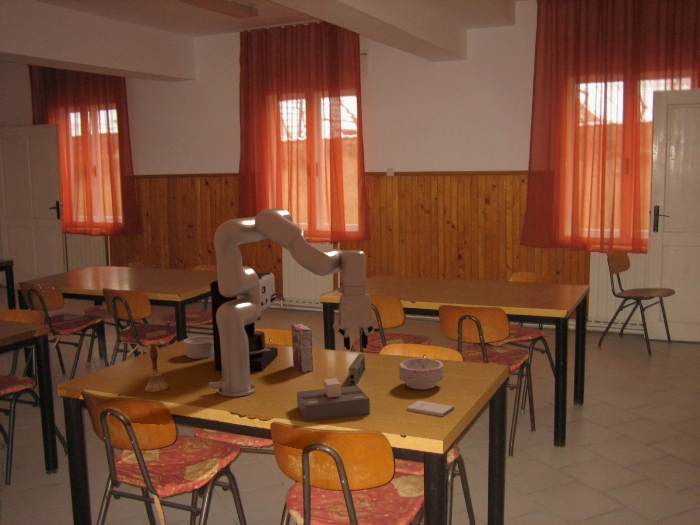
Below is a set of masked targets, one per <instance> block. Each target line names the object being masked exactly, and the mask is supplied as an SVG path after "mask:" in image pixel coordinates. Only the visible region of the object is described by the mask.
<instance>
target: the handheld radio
mask: <svg viewBox="0 0 700 525" xmlns="http://www.w3.org/2000/svg"><path fill="white" fill-rule="evenodd" d="M365 357H366V356H365V353H359V354H358V355H356V356H355V359H354V360H353V361H352V363H351V364H350V366H349V367H348V375H349V384H348V386H357V385H358V383H359V381H360V379H361V378H362V377H363V375H364V373H365V372H366V358H365ZM364 371H365V372H364ZM356 384H357V385H356Z"/></svg>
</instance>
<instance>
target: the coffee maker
mask: <svg viewBox="0 0 700 525" xmlns="http://www.w3.org/2000/svg"><path fill="white" fill-rule="evenodd" d="M256 274H257V276H258V279H259V285H260V302H261V312H260V314H261V313H262V312H264V311H265V310H267V309H268V308H269V307H271V306H273V305H274V304H275V303H276V296H277V295H276V280H275V277H276V276H275V275H274V274H273V273H272V272H256ZM209 287H210V300H211V301H210V302H211V317H212V318H211V320H212V323H211V324H212V337H213V341H214V354H213V358H214V371H215V372H222V364H221V347H220V335H219V329H218V325H217V321H216V313H217V310H218V308H219V307H220V306H221V305H222V304H224V303H226V302H229V301H232V300H236V299H237V296H235V297H225V296H223V295H222V294H221V293H220V291H219V287H218V279H215V281H212V282H211V283H210V284H209ZM260 320H261V315H260V316H259V318H258V319H257V320H256V321H260ZM256 321H255V322H256ZM255 322H253V323H251V324H248V325H245V326H244V329H245V332H246V334H247V336H248V343H249V363H250V371H253V373H254V371H262V372H263V371H264V370H265V369H266V368H267V367H268V366H269V365H270V364H271V363H273V361H274V360H275V359H276V358H277V357H278V356H279V352H278V351H279V350H278V349H279V348H277V347H266V343H267V342H266V335H265V331H263V330H264V329H263V330H257V329H256V328H255ZM255 329H256V330H255Z"/></svg>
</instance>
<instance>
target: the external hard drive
mask: <svg viewBox="0 0 700 525" xmlns="http://www.w3.org/2000/svg"><path fill="white" fill-rule="evenodd" d="M453 409H454V410H455V406H454V405H450V404H442V403H436V402H431V401H430V402H429V401H425V400H417V401H414V402H413V403H412V404H410V405H408V406H407V407H406V411H409V412H415V413H420V414H426V415H430V414H431V415H432V416H436V415H437V416H436V417H441V416H443V417H445V416H446V415H448V414H450V413H451V412H452V411H454V410H453ZM450 411H451V412H450ZM444 415H445V416H444Z"/></svg>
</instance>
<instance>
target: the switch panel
mask: <svg viewBox="0 0 700 525" xmlns="http://www.w3.org/2000/svg"><path fill="white" fill-rule="evenodd" d="M296 404H297V405H296V406H297V409H298V412H300V414H301V416H302V418H303V419H304V421H305V422H313V421H321V420H331V419H332V420H333V419H339V418H347V417H356V416H365V415H371V410H370V408H371V407H370V406H371V404H370V397H369V396H368V395H367V394H366V393H365V391H363V389H361V387H360V386H359V385H358V384H357V385H353V386H349V385H348V386H341V396H338V397H329V398H328V397H327V395H326V394H325V393H324V388H321V389H311V390H302V391H296Z"/></svg>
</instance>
